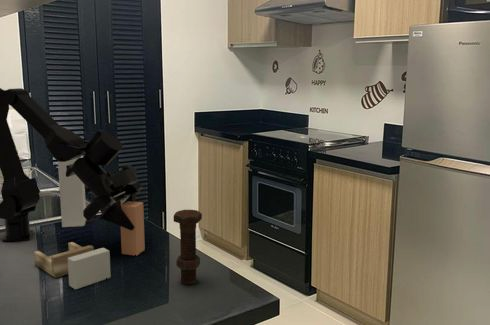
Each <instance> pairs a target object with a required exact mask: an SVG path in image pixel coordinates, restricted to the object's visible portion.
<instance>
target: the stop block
mask: <svg viewBox="0 0 490 325" xmlns="http://www.w3.org/2000/svg"><path fill="white" fill-rule="evenodd" d="M67 275H68V286H70V287H71V288H73V290H78V289H81V288H83V287H87V286H90V285H93V284H96V283H98V282H101V281H104V280H106V278H107V279H110V278H111V255H110V250H109V249H107V248H105V247H101V248H97V249H94V250H93V251H90V252H86V253H83V254H79V255H76V256H72V257H69V258H68V274H67Z"/></svg>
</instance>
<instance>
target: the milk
mask: <svg viewBox="0 0 490 325" xmlns="http://www.w3.org/2000/svg"><path fill="white" fill-rule="evenodd" d="M81 157H84V155H82V156H81ZM77 159H78V158H77ZM77 159H73V160H70V161H66V162H59V161H57V169H58V170H57V171H58V185H59V199H60V215H61V227H62V228H71V227H74V228H76V227H84V226H85V225H86V223H87V222H86V221H87V220H86V219H85V218H84V216H83V210H84V209H85V208H86V207H87V204H86V192H85V190H86V189H85V187H86V186H85V185H84V184H83V183H82V181H81V180H80V179H79V178H78V177H77V176H76V175H72V176H69V177H66V170H67V168H66V166H67V165H70V164H73V163H74V162H75V161H76V160H77Z"/></svg>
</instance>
